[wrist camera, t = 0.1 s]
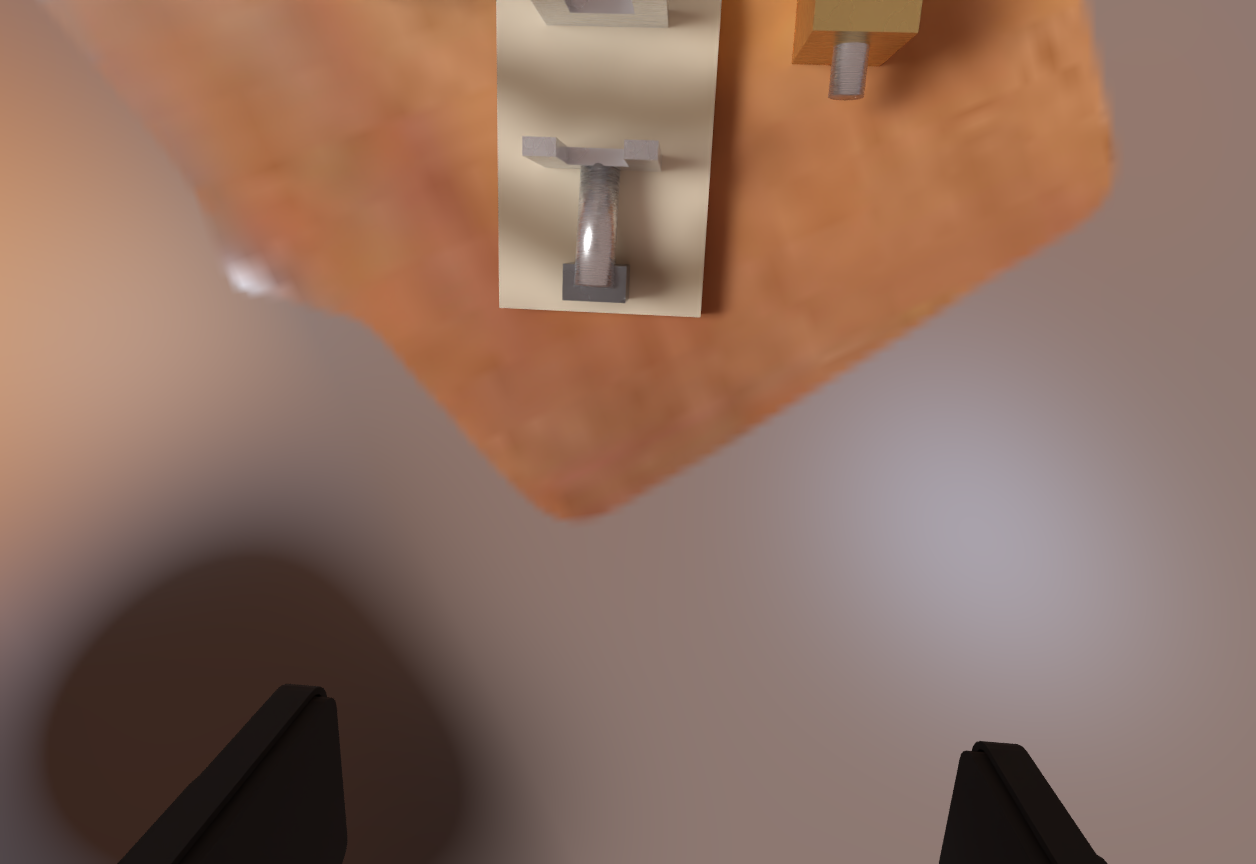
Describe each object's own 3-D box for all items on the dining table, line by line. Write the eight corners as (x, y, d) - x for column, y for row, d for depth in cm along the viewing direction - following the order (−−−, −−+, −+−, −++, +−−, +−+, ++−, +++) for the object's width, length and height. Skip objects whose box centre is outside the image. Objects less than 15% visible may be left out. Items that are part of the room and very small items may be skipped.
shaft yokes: (547, -151, 33) (521, -226, 27) (677, -150, 32) (676, -226, 27) (544, 295, 38) (522, 304, 33) (654, 300, 38) (650, 310, 32)
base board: (502, -154, 34) (494, -172, 32) (730, -153, 33) (733, -170, 32) (505, 305, 40) (499, 307, 38) (699, 314, 39) (700, 317, 38)
